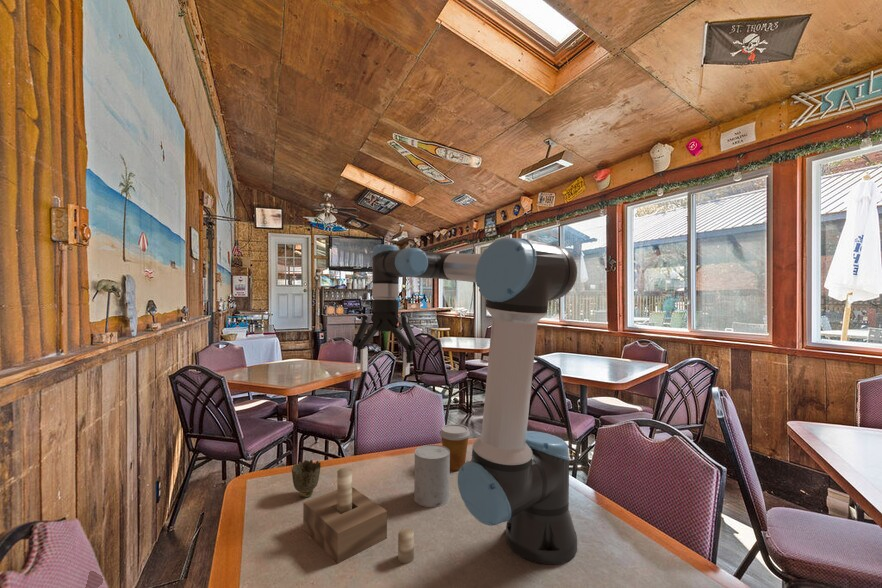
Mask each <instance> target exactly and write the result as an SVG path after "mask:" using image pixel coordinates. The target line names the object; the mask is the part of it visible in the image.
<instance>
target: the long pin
mask: <svg viewBox="0 0 882 588" xmlns="http://www.w3.org/2000/svg"><path fill="white" fill-rule="evenodd" d="M336 477H337V481H336V482H337V489H336V490H337V512H338V513H340V514H342V513H345V512H347V511H349V510H352V487H353V470H352V468H351V467H342V468H340V469H338V470H337V475H336Z"/></svg>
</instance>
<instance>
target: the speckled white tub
mask: <svg viewBox="0 0 882 588" xmlns="http://www.w3.org/2000/svg"><path fill="white" fill-rule="evenodd" d="M450 471H451V470H450V450H449V449H448V448H446V447H444V446H443V445H442V444H441V445H440V444H426V445H421V446H418V447H417V448H415V450H414V490H413V491H414V493H413V494H414V495H413V500H414V502H415V503H416V504H418V505H419V506H421V507H425V508H438V507H442V506H444V505H446V504H447V503H449V501H450V497H451V495H450Z"/></svg>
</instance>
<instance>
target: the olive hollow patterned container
mask: <svg viewBox="0 0 882 588" xmlns="http://www.w3.org/2000/svg"><path fill="white" fill-rule="evenodd" d="M321 465H322V463H321V462H319V460H316V462H313V459H310V461H309V460H306V459H304V460H303V461H299V462H298V463H295V464H293V466H292V467H291V475H292V477H291V478H292V483H293V487H294V489H295V490H296V491H298V496H299V497H300V498H309V497H311V496H312V495H313V493H314V489H316V487H317V486H318V483H319V481H320V474H321V473H320V472H321Z"/></svg>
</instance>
